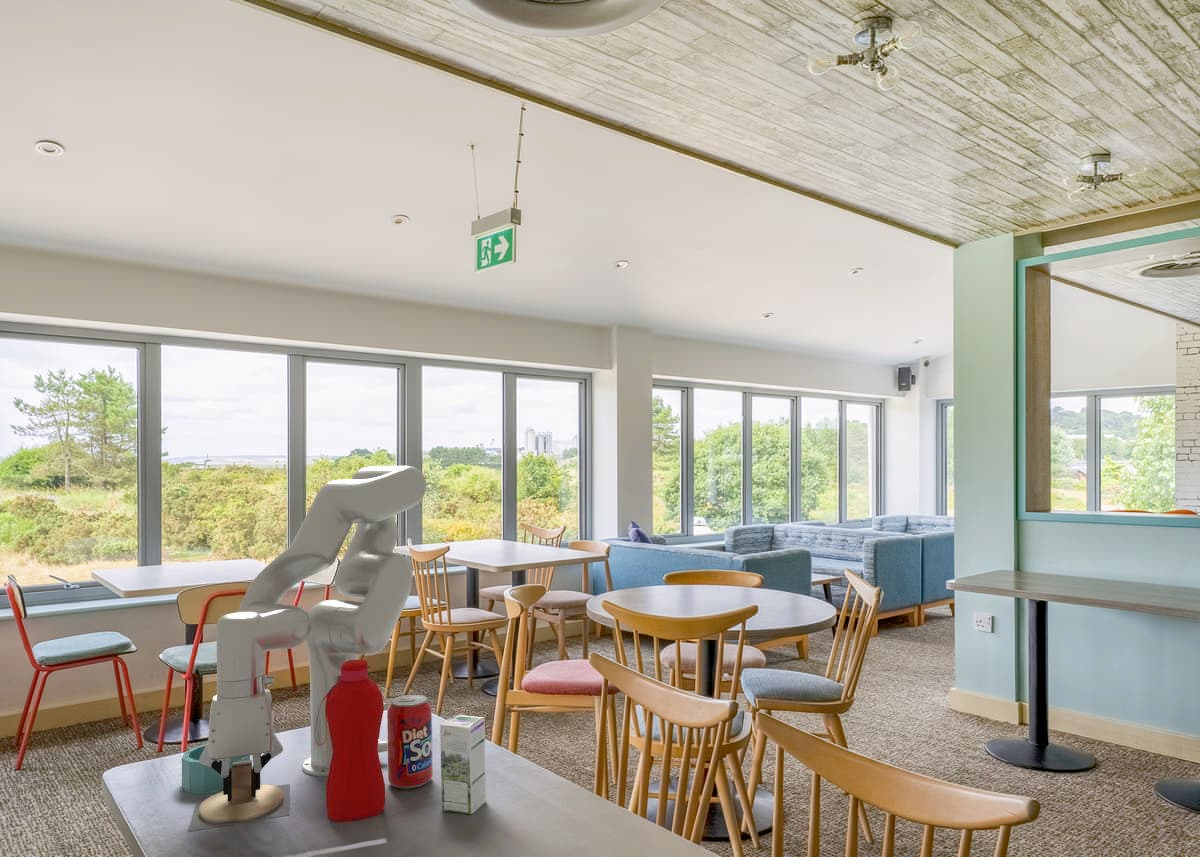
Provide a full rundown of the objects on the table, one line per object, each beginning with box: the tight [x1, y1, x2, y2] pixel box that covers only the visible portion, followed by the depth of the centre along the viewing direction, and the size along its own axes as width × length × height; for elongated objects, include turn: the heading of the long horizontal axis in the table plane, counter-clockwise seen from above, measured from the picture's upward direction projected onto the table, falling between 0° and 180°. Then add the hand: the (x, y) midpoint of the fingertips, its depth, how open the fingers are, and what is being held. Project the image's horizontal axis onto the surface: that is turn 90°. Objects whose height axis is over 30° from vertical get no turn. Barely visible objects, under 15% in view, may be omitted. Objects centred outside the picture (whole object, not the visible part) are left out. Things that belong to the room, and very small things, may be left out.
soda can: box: [386, 694, 434, 790], centre depth 148 cm, size 8×8×15 cm
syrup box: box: [439, 714, 487, 815], centre depth 138 cm, size 6×6×14 cm
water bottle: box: [315, 659, 386, 823], centre depth 136 cm, size 9×11×25 cm
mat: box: [187, 783, 291, 833], centre depth 138 cm, size 15×14×1 cm
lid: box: [199, 759, 283, 823], centre depth 138 cm, size 13×13×7 cm
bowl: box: [181, 743, 251, 795], centre depth 150 cm, size 11×11×6 cm
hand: (242, 795), depth 138 cm, fingers closed on lid, 3 cm apart
